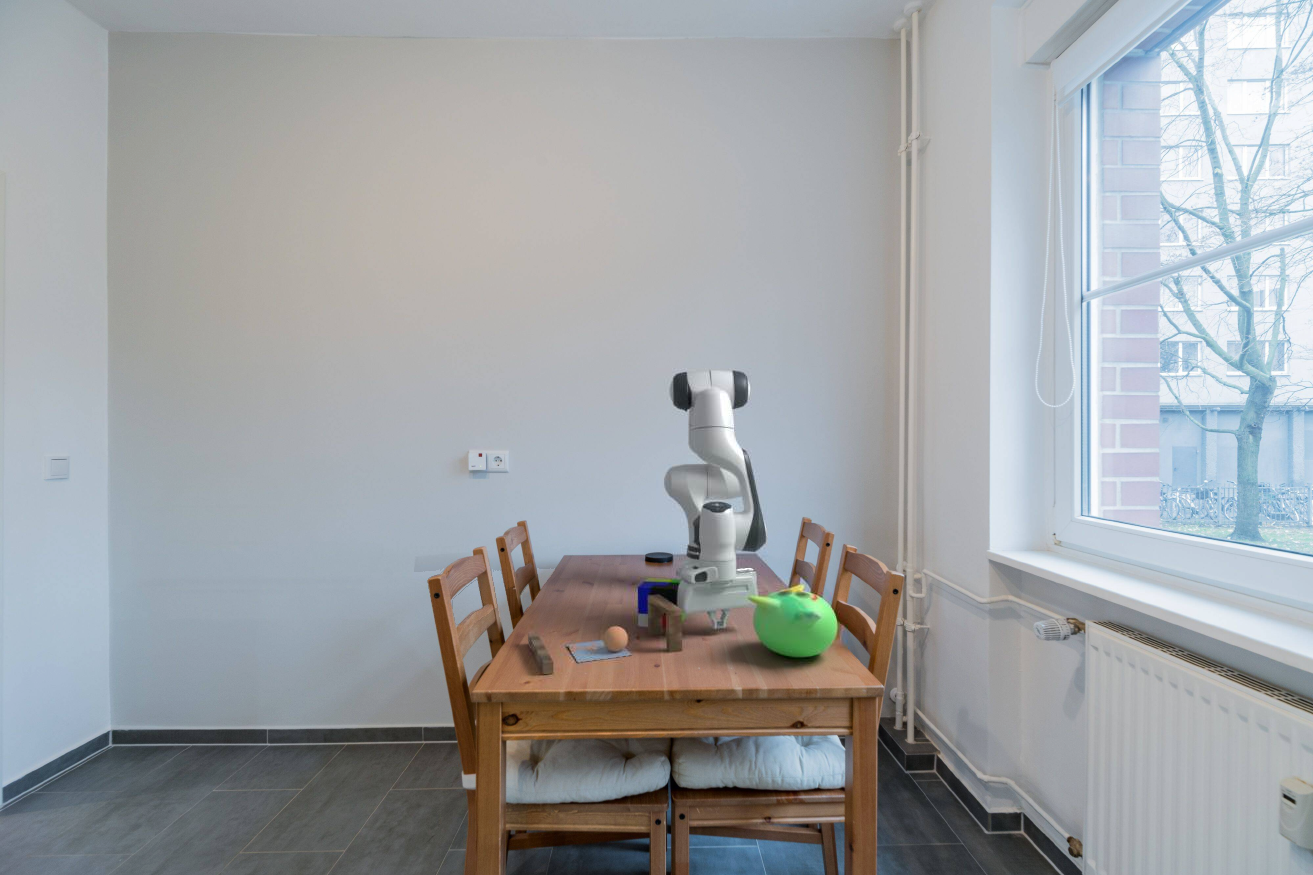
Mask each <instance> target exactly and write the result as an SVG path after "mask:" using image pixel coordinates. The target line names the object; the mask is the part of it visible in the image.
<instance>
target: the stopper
mask: <svg viewBox="0 0 1313 875" xmlns="http://www.w3.org/2000/svg"><path fill="white" fill-rule="evenodd" d="M527 635H528V636H527V638H528V639H527V640H528V643H529V645H530V647H531V649H532V651H533V653H534V655H533V657H534V656H535V657H534V659H535V658H536V659H535V661H536V660H537V661H536V663H537V662H538V663H537V665H538V664H539V665H538V667H539V666H540V667H539V669H540V668H541V669H540V671H541V670H542V671H541V673H542V672H543V673H542V675H543V674H549V675H551V674H550V673H553V674H554V660H553V659H552V657H551V655H550V653H549V652H548V650H547V648H546V646H545V645H544V643H543V641H542V640H541V638H540V636H539V635H538V633H537V632H535V633H534V632H533V633H527ZM528 643H527V644H528ZM529 645H528V646H529ZM530 647H529V648H530ZM531 649H530V650H531ZM532 651H531V652H532ZM533 653H532V654H533Z"/></svg>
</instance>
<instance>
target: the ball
mask: <svg viewBox="0 0 1313 875" xmlns="http://www.w3.org/2000/svg"><path fill="white" fill-rule="evenodd" d="M602 638H603V639H602V640H603V642H604V645H605V647H606V648H607V649H608V650H610V651H612V652H619V651H621V650H623V649H624V648H626V647H627V645H628V641H629V636H628V633H627V632H626V630H625V629H624V628H622V627H620V626H616V625H615V626H611V627H609V628H608V629H606V631H605V633H604V634H603V637H602Z"/></svg>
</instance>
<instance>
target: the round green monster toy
mask: <svg viewBox="0 0 1313 875" xmlns="http://www.w3.org/2000/svg"><path fill="white" fill-rule="evenodd" d="M804 588H805V584H797V585H795V586H792V587H790V588H787V589H781V590H777V591H773V592H772V593H771V592H770V593H769V594H767V595H765V596H759V595H758V596H749V597H748V599H749V600H750V601H752V602H753V603H755V604H756V608H755V610H754V612H753V619H752V620H753V621H752V622H753V629H754V632H755V634H756V636H757V638H758V639H759V641H760V642H761V643H762V644H763V645H765V647H767V648H768V649H769V650H770V651H773V653H774V652H775V653H777V654H779V655H782V656H784V657H785V656H786V657H790V658H810V657H813V656H817V655H819V654H821V653H823V652H825V651H826V650H827V649H828V648H829V647H831V645H832V644H833V643H834V641H835V638H836V636H837V632H838V620H837V616H836V613H835V612H834V610H833V608H832V607H831V605H830V604H829V602H827V601H826V600H825V599H824V598H822V597H820V596H819V595H817V594H815V593H812V592H809V591H806V590H804Z"/></svg>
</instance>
